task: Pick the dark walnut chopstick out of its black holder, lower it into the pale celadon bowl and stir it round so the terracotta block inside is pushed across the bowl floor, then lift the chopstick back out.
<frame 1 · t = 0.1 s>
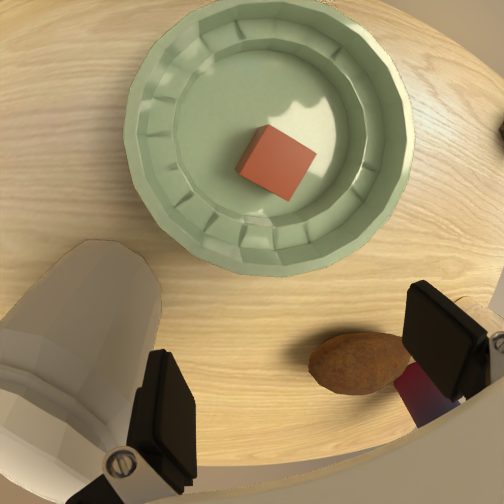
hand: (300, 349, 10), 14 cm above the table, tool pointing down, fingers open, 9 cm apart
cup: (408, 374, 34), on the table
potato: (348, 342, 29), on the table
white cup: (456, 317, 31), on the table
bowl: (266, 131, 20), on the table
jar: (111, 287, 23), on the table
block: (268, 159, 21), point 1 cm above the table, touching bowl
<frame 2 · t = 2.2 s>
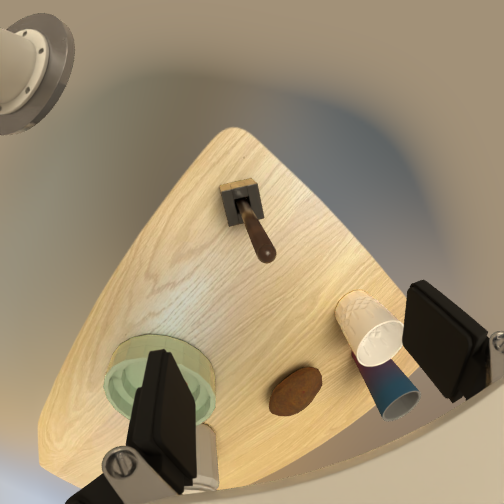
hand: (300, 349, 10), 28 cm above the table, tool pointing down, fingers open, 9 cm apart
holder: (238, 196, 36), on the table
cup: (363, 348, 49), on the table
potato: (291, 378, 49), on the table
white cup: (353, 307, 45), on the table
bowl: (162, 373, 45), on the table
jar: (192, 430, 51), on the table
chopstick: (238, 196, 36), resting in holder
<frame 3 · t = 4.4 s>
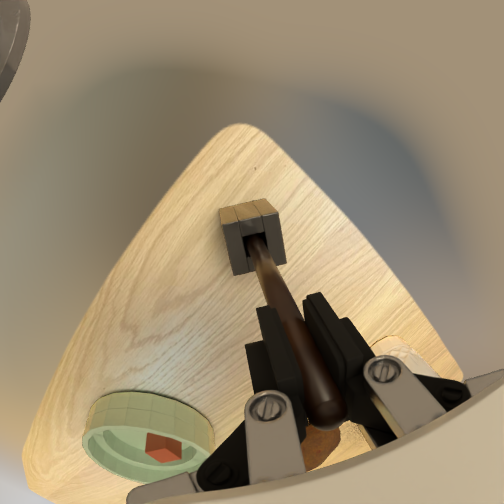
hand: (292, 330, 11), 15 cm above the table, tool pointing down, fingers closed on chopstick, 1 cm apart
holder: (247, 225, 25), on the table
potato: (303, 430, 38), on the table
white cup: (382, 354, 34), on the table
bowl: (150, 428, 34), on the table
block: (164, 436, 34), point 1 cm above the table, touching bowl
chopstick: (246, 225, 25), resting in holder, touching gripper
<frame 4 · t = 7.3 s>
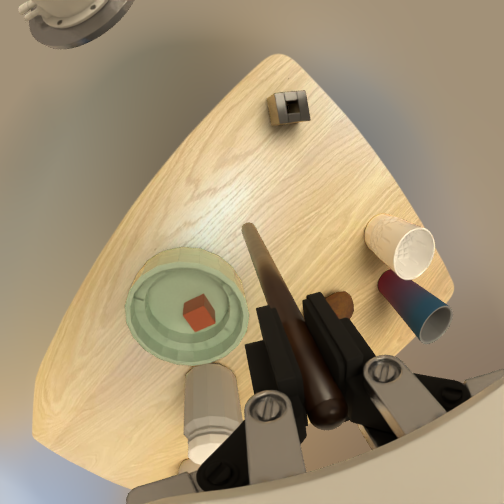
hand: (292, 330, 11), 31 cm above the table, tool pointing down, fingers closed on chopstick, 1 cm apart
holder: (283, 110, 37), on the table
cup: (388, 281, 50), on the table
potato: (319, 310, 50), on the table
white cup: (380, 232, 46), on the table
bowl: (188, 298, 45), on the table
jar: (210, 376, 52), on the table
block: (199, 306, 45), point 1 cm above the table, touching bowl
chopstick: (247, 227, 25), point 16 cm above the table, touching gripper
mug: (190, 464, 65), on the table
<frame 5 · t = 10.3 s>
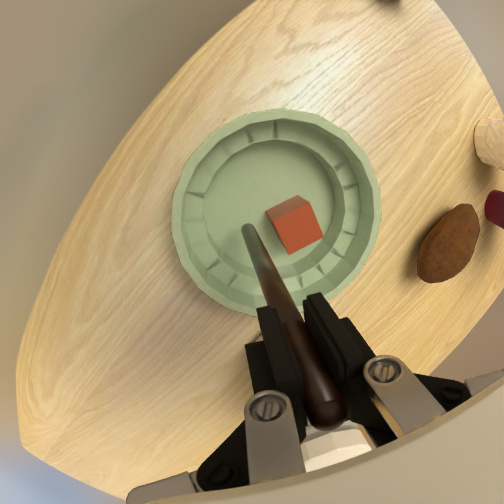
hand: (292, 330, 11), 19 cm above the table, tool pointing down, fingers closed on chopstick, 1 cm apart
cup: (492, 205, 33), on the table
potato: (433, 235, 33), on the table
white cup: (485, 141, 29), on the table
bowl: (270, 205, 29), on the table
jar: (285, 346, 36), on the table
block: (288, 218, 29), point 1 cm above the table, touching bowl
chopstick: (247, 228, 25), point 3 cm above the table, touching gripper
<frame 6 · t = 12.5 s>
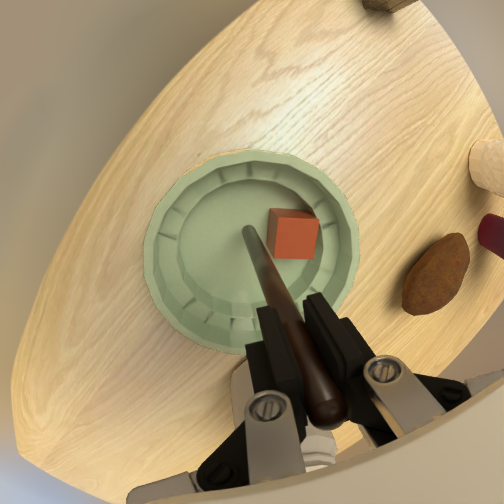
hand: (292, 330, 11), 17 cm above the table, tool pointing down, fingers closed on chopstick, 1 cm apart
cup: (486, 229, 33), on the table
potato: (421, 264, 33), on the table
white cup: (480, 163, 29), on the table
bowl: (247, 241, 28), on the table
jar: (267, 373, 35), on the table
block: (286, 227, 28), point 1 cm above the table, touching bowl
chopstick: (247, 229, 26), point 2 cm above the table, touching gripper
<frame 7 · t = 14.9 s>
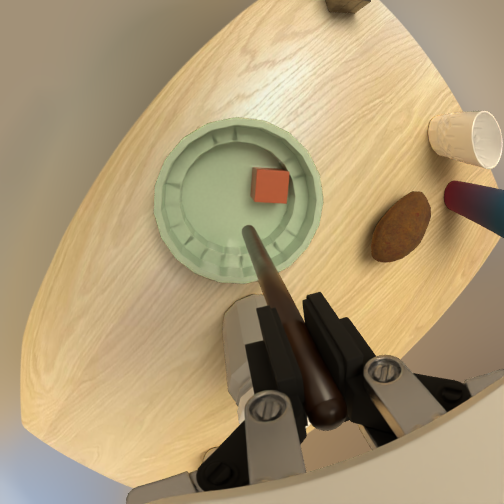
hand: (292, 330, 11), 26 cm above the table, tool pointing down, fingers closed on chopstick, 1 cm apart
holder: (338, 1, 27), on the table
cup: (452, 195, 39), on the table
potato: (389, 221, 39), on the table
white cup: (441, 135, 36), on the table
bowl: (235, 195, 35), on the table
jar: (255, 319, 42), on the table
block: (266, 182, 35), point 1 cm above the table, touching bowl
chopstick: (247, 230, 26), point 11 cm above the table, touching gripper
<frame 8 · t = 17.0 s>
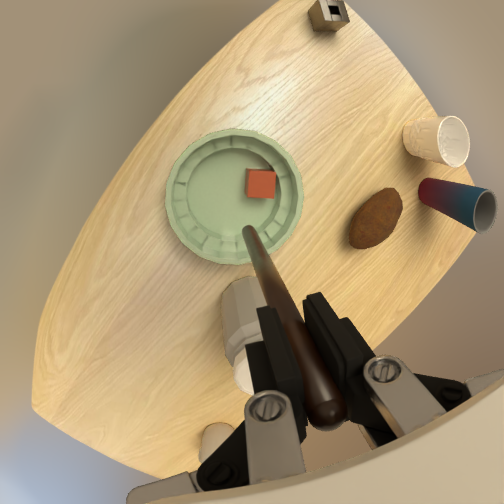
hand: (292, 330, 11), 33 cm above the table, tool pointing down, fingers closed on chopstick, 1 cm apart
holder: (322, 21, 34), on the table
cup: (427, 190, 46), on the table
potato: (366, 214, 46), on the table
white cup: (415, 137, 42), on the table
bowl: (232, 191, 42), on the table
jar: (249, 298, 49), on the table
block: (257, 181, 41), point 1 cm above the table, touching bowl
chopstick: (247, 230, 26), point 18 cm above the table, touching gripper
mug: (214, 432, 62), on the table
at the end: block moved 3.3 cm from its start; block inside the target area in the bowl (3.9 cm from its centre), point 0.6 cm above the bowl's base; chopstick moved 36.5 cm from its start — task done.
